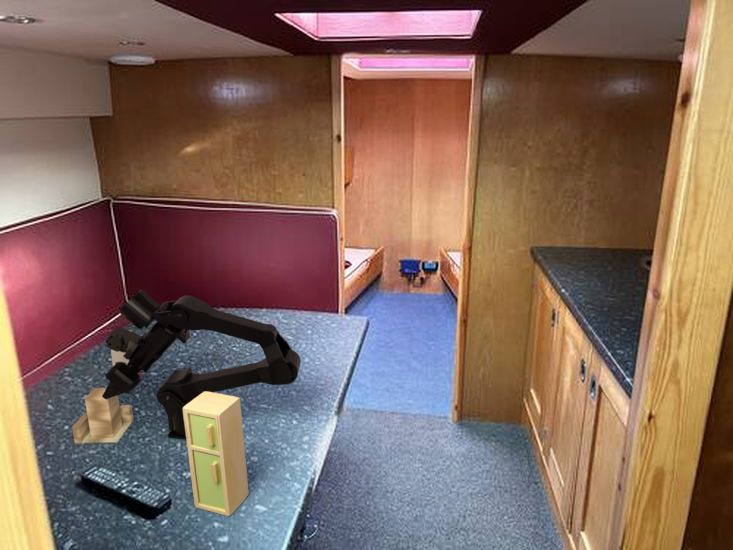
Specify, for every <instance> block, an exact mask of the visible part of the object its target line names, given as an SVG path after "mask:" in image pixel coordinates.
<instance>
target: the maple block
mask: <svg viewBox="0 0 733 550" xmlns="http://www.w3.org/2000/svg"><path fill="white" fill-rule="evenodd" d="M106 388H107V387H94V388H93V389H92V390H91V392H90V393H89V394H88V395H87V396H85V398H84V402H85V408H86V411H87V415H88V421H89V428H90V434H91V438H114V437H115V435H116V434H117V433H118V431H119V430H120V429H121V427H122V420H121V413H120V406H119V405H120V402H119V401H120V400H119V395H117V396H114V397H111V398H109V399H104V398H103V397H102V395H103V393H104V392H105V390H106Z"/></svg>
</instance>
